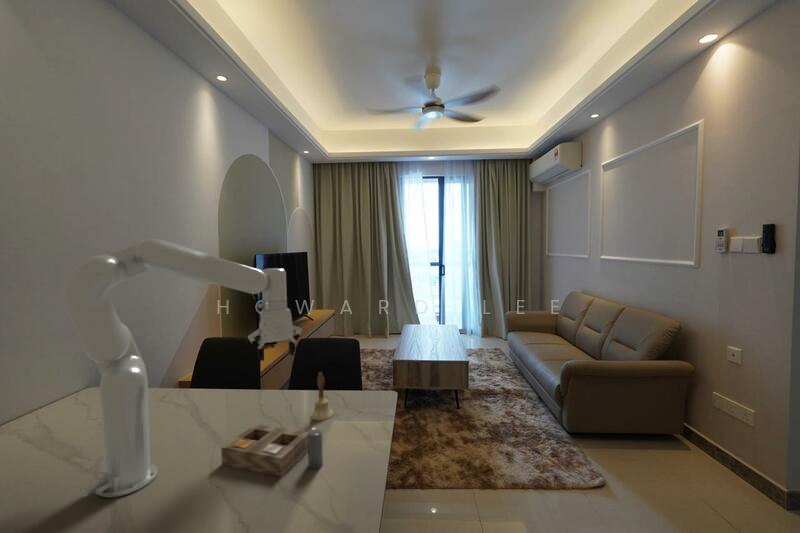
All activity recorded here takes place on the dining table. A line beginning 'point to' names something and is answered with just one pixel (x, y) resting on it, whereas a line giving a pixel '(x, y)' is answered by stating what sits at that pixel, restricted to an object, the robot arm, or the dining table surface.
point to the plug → (315, 449)
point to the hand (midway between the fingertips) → (276, 357)
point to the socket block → (265, 449)
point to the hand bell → (321, 403)
